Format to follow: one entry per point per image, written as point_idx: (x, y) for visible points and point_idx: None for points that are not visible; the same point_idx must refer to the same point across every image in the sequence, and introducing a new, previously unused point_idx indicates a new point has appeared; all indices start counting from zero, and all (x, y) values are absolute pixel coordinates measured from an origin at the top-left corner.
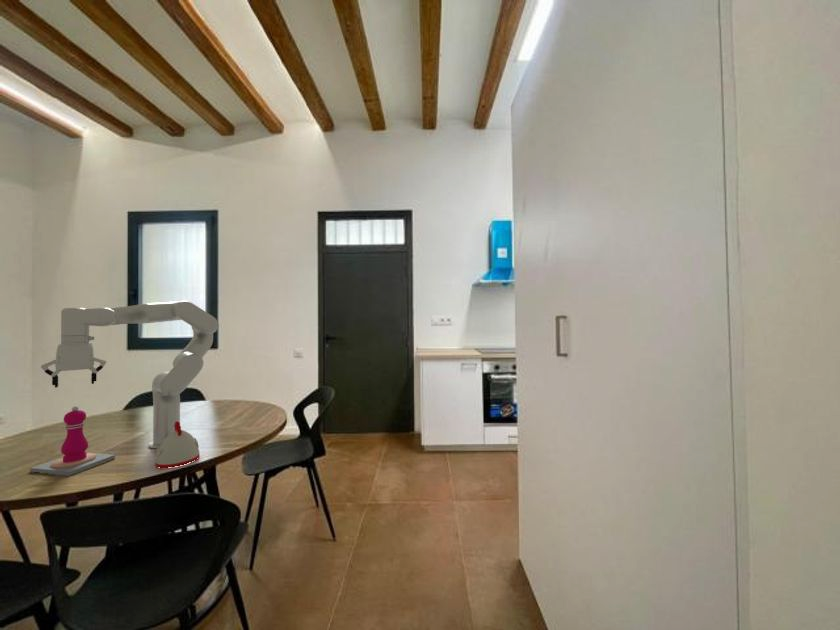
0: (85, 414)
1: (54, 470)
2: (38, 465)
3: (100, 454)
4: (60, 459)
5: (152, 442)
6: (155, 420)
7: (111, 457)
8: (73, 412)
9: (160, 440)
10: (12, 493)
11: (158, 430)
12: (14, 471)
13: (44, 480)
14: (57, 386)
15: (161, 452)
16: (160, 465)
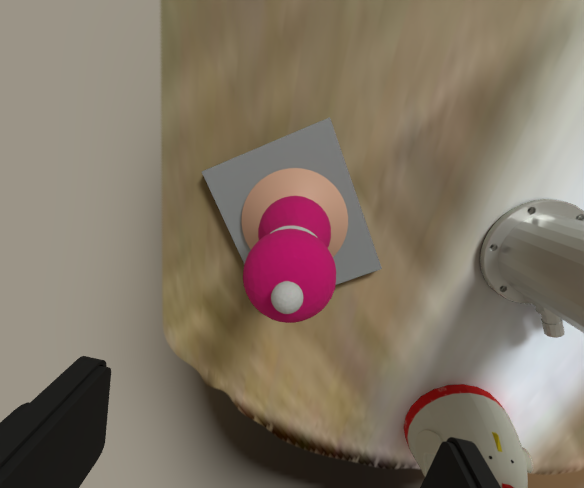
0: (329, 299)
1: (244, 262)
2: (220, 167)
3: (359, 222)
4: (268, 181)
5: (507, 230)
6: (568, 304)
7: (370, 270)
8: (276, 311)
9: (514, 286)
10: (170, 313)
11: (537, 297)
12: (175, 117)
13: (224, 284)
14: (98, 457)
15: (423, 471)
16: (408, 444)
